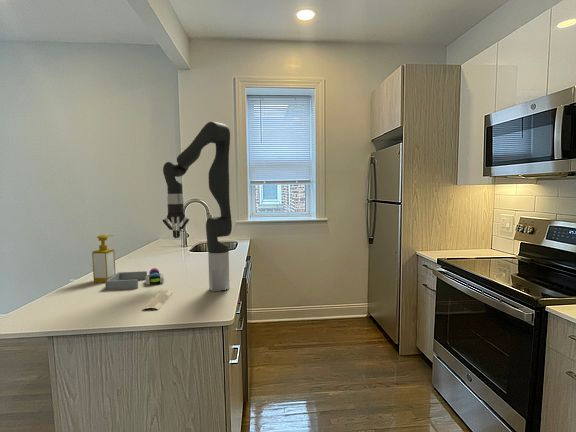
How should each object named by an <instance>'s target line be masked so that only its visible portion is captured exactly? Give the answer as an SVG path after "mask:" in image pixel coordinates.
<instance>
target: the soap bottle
mask: <svg viewBox="0 0 576 432" xmlns="http://www.w3.org/2000/svg"><path fill="white" fill-rule="evenodd" d="M109 237H114V234H100V235H98V236H96V238H97V239H98V241H99V242H100V244H99V246H98V249H97V250H93V251H92V252H91V257H92V273H93V274H92V275H93V283H100V284H101V283H104V284H105V281H107V280H108V279H110V278H111V277H112V276H114V275H115V274H117V272H116V257H115V256H116V254H115V249H114V248H109V249H108V245H107V244H106V241H108V238H109Z"/></svg>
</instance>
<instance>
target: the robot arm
mask: <svg viewBox="0 0 576 432" xmlns="http://www.w3.org/2000/svg"><path fill="white" fill-rule="evenodd" d="M211 143H212V144H214V145H215V155H214V159H213V162H212V163H211V166H210V168H209V171H208V187H209V188H208V189H209V191H210V192H211V193H210V194H211V195H212V196H213V198H214V200H216V201H215V202H216V203H217V204H218V206H219V211H220V216H211V217H208V218H207V219H206V222H205V231H206V233H205V234H206V244H207V245H206V246H207V251H208V252H207V256H208V260H207V261H208V284H209V285H208V288H209V289H208V290H210V291H211V290H212V291H211V292H222V291H221V290H226V289H227V290H229V289H230V257H229V256H230V249H229V244H225V243H222V242H220V241H219V239H218V238H223V237H229V236H230V235H231V234H232V230H233V229H232V228H233V227H232V226H233V223H232V214H231V203H230V202H231V200H230V199H231V198H230V170H229V169H230V166H229V165H230V159H229V158H230V145H231V131H230V127H228V125H227V124H224V123H221V122H217V121H209V122H207V123H206V124H205V125H204V126H203V127H202V128H201V130H200V131H199V133H198V134H197V135H196V136H195V137H194V139H193V140H192V141H191V142H190V144H189V145H188V146H187V147H186V148H185V149H184V150H183V151H182V152H181V153H180V154H178V155H177V157H176V162H175V161H167V162H165V163H164V164H163V167H162V172H163V176H164V177H163V178H164V180H165V183H166V188H167V197H166V198H167V199H166V201H167V205H166V206H167V215H166V217H165V218H164V219H162V223H164V225H165V226H166V227H167V228H168V230H170V231H172V237H173V238H174V239H179V238H180V237H181V230H183V229H185V227H186V226H187V224H188V223H189V221H190V218H188V217H186V215H185V212H184V211H185V210H184V209H185V208H184V206H185V205H184V203H185V202H184V196H183V195H184V194H183V191H184V190H183V182H181V181H177V177H178V178H179V177H183V176H184V175H185V174H186V173H187V172H188V170H189V168H190V167H191V166H192V164H194V163H195V162H197V160H199V158H200V156H201V153H202V150H203V149H204V148H205V147H206V146H207V145H209V144H211ZM169 222H170V223H171V224H170V223H169ZM182 222H183V223H182ZM181 223H182V225H181ZM228 288H229V289H228ZM227 290H226V291H227Z"/></svg>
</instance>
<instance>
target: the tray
mask: <svg viewBox="0 0 576 432" xmlns="http://www.w3.org/2000/svg"><path fill="white" fill-rule="evenodd" d="M147 275H148V271H145V270H139V271H122V272H119V271H118V272H116V274H115V275H114V276H112V277H111V278H110V279H108V280H107V281H105V283H104V284H105V291H112V290H113V291H115V290H129V289H131V290H133V289H138V288H139V280H145V279H146V276H147Z"/></svg>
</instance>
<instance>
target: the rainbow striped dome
mask: <svg viewBox="0 0 576 432" xmlns="http://www.w3.org/2000/svg"><path fill="white" fill-rule="evenodd" d="M144 280H145V281H144V282H145V284H146V285H148V286H149V285H151V284H150V283H158V282H159V284H163V283H164V281H165V278H164V274H163V273H160V270H159V269H158V268H156V267H154V268H153V267H152V268H151V269H150V270H149V274H147V276H146V279H144Z"/></svg>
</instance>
